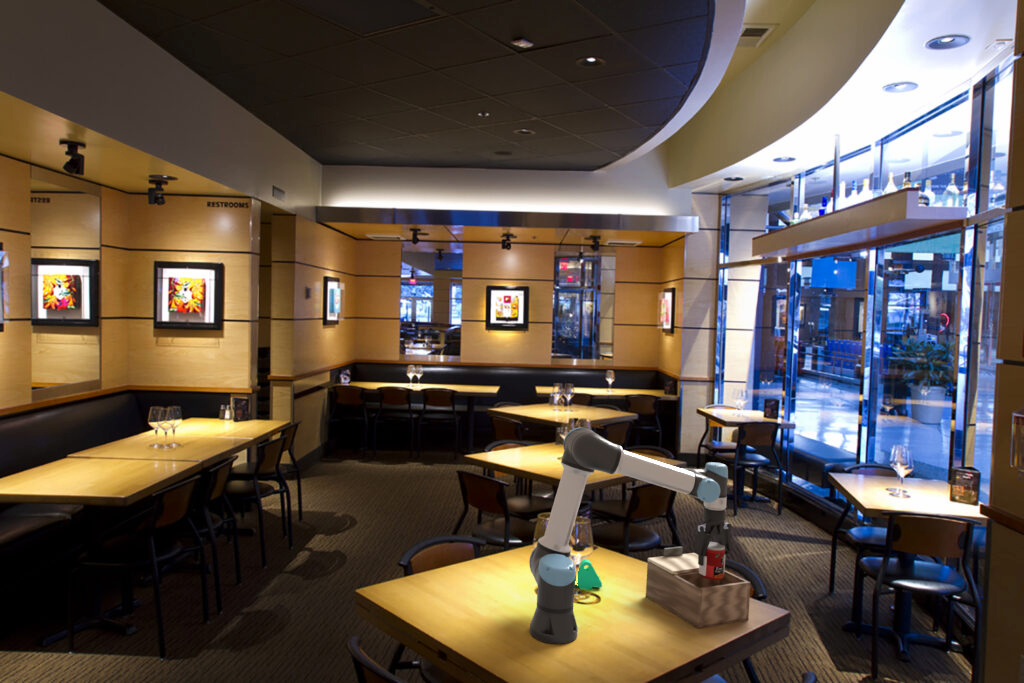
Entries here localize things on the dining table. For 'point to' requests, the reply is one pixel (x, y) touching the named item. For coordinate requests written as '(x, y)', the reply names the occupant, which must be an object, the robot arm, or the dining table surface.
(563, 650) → the dining table surface
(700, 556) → the robot arm
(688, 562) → the lid
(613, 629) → the dining table surface
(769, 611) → the dining table surface
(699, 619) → the housing
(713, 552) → the canned food
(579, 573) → the camera mount
